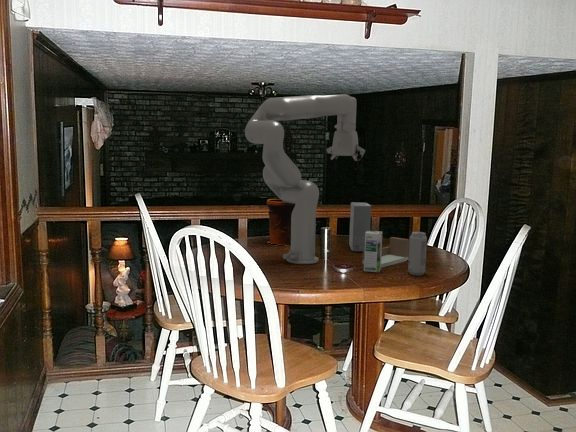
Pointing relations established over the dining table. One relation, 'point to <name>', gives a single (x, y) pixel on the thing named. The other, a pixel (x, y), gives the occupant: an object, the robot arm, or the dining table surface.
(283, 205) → the vessel
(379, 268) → the syrup box
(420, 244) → the energy drink can
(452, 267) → the dining table surface
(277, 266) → the dining table surface
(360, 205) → the hard drive box
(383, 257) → the shelf
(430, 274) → the dining table surface
